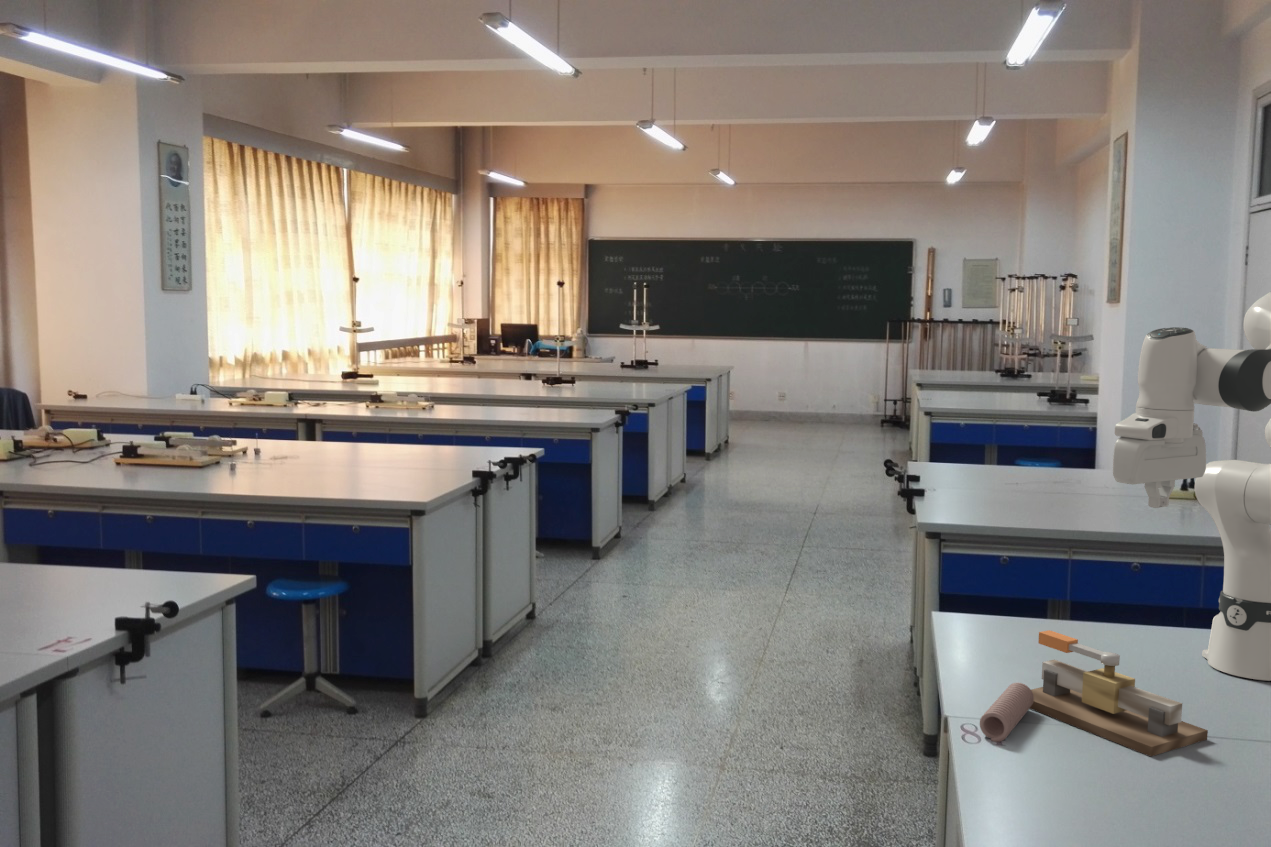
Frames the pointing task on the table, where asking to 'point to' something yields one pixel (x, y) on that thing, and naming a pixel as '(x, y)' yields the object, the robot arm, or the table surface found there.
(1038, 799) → the table surface
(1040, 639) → the valve lever
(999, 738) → the coil
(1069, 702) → the valve stand
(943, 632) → the table surface
